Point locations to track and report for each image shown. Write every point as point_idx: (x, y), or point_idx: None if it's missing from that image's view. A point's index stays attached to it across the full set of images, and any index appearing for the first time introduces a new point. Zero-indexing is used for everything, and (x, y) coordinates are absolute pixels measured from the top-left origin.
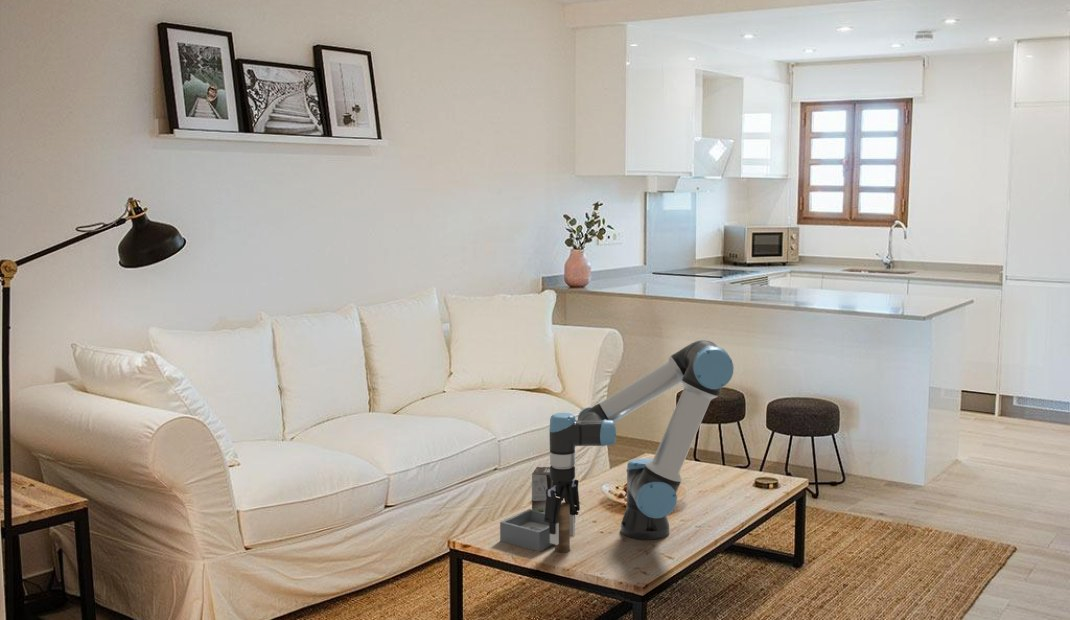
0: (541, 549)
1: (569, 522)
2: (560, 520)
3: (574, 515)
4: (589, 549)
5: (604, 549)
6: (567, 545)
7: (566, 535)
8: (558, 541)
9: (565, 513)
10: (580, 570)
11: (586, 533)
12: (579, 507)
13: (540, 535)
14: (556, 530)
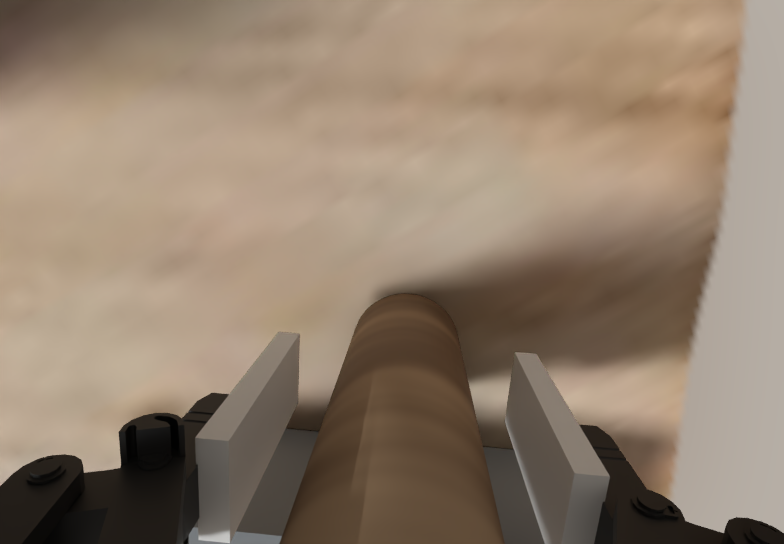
0: (501, 453)
1: (371, 401)
2: (492, 494)
3: (199, 439)
4: (290, 180)
5: (222, 77)
6: (418, 310)
7: (432, 347)
8: (523, 362)
9: (462, 518)
10: (718, 9)
11: (48, 353)
12: (11, 483)
13: (535, 535)
14: (575, 432)
